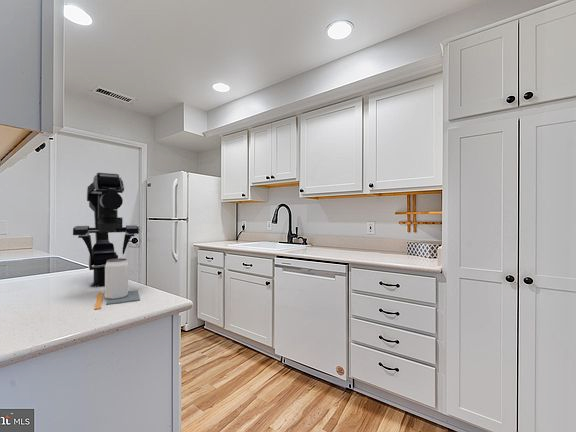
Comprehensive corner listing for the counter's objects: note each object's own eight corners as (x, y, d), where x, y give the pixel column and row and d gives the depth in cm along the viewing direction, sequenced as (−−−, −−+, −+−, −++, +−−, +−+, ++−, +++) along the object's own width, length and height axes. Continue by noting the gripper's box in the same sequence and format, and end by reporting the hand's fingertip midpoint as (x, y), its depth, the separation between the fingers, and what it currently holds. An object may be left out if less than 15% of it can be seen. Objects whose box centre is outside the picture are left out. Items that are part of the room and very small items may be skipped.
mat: (107, 294, 95) (107, 293, 95) (137, 291, 100) (137, 290, 100) (106, 305, 85) (106, 303, 85) (139, 300, 90) (139, 299, 90)
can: (117, 300, 88) (117, 261, 88) (99, 298, 90) (99, 261, 89) (132, 294, 95) (132, 258, 94) (115, 293, 96) (115, 257, 96)
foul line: (98, 293, 96) (98, 292, 96) (103, 293, 97) (103, 292, 97) (94, 309, 81) (94, 308, 81) (100, 308, 82) (100, 307, 82)
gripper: (70, 209, 86) (70, 260, 86) (140, 210, 95) (139, 256, 95) (75, 209, 95) (75, 255, 95) (137, 210, 105) (137, 252, 105)
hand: (107, 255), depth 98 cm, fingers open, 9 cm apart
